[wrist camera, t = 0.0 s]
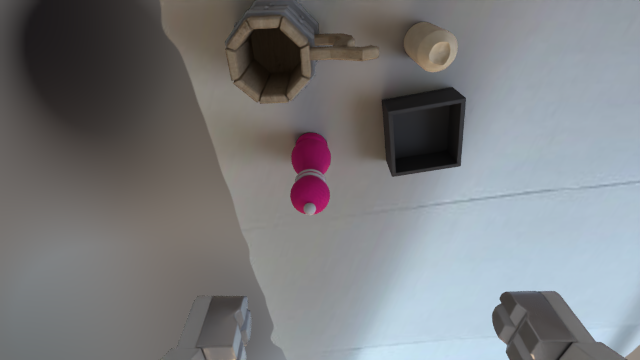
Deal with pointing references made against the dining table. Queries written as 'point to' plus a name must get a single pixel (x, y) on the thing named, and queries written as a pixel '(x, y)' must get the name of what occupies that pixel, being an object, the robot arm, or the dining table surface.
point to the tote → (424, 131)
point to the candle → (430, 46)
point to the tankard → (283, 50)
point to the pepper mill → (310, 174)
